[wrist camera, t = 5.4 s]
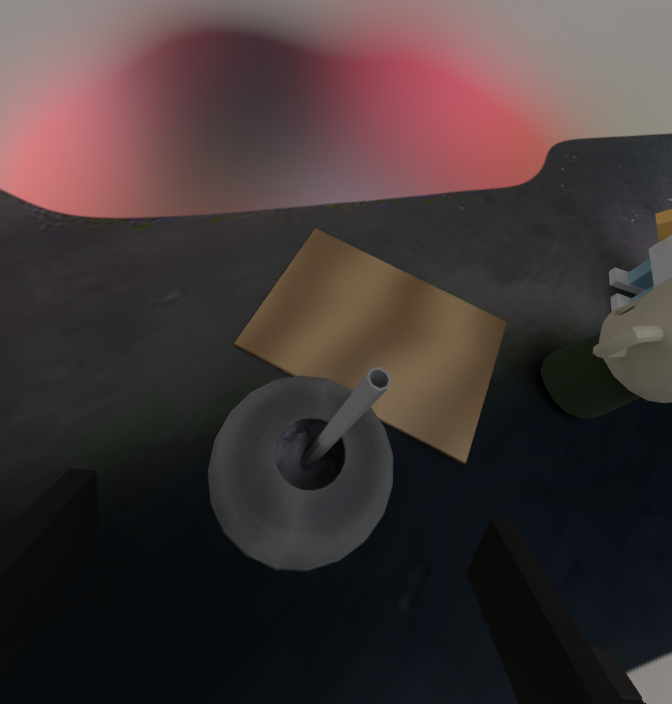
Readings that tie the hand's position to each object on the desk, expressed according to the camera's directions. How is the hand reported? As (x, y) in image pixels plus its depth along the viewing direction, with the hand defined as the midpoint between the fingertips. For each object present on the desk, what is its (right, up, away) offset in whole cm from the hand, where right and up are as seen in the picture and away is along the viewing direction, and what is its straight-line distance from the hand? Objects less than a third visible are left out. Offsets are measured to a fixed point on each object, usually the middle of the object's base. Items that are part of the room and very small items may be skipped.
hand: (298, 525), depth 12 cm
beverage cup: (-2, -3, +13) cm, 13 cm away
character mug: (+22, +3, +19) cm, 29 cm away
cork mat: (+5, +7, +18) cm, 21 cm away
